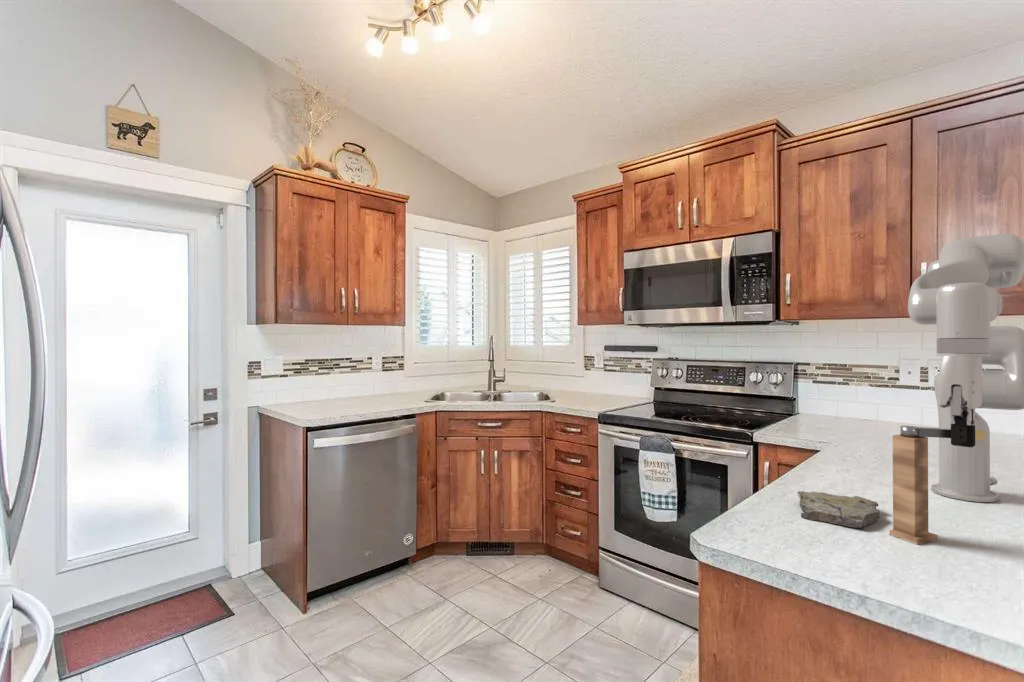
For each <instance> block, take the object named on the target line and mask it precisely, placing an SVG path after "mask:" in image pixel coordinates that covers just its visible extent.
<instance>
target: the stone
mask: <svg viewBox="0 0 1024 682" xmlns="http://www.w3.org/2000/svg"><path fill="white" fill-rule="evenodd" d="M797 497H798V498H799V507H800V509H801V511H802V513H801V514H800V517H801V518H802V519H805V518H806V519H805V520H809V519H810V521H814V520H815V521H816V522H826V523H830V524H835V525H837V524H838V526H845V527H848V528H849V527H850V528H864V526H867V525H870V524H874V522H877V521H878V520H879V518H880V510H879V509H878V508H877V507H879V503H878V502H877V501H874V500H872V499H871V500H870V499H867V498H865V497H861V496H858V495H854V496H848V495H839V494H833V493H832V494H830V493H827V492H817V491H804V490H803V491H797ZM803 512H804V513H803ZM815 521H814V522H815Z"/></svg>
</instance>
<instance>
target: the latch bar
mask: <svg viewBox="0 0 1024 682" xmlns="http://www.w3.org/2000/svg"><path fill="white" fill-rule="evenodd" d="M899 427H900V434H899V435H901V436H905V437H928V438H938V439H939V438H951V428H939V427H926V426H924V427H922V426H914V425H900V426H899ZM975 439H980V440H985V431H982V430H975Z"/></svg>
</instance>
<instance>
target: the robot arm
mask: <svg viewBox="0 0 1024 682" xmlns="http://www.w3.org/2000/svg"><path fill="white" fill-rule="evenodd" d="M1023 275H1024V241H1023V239H1022V238H1021V237H1019V236H1018V235H1017V234H1014V233H1000V234H992V235H982V236H972V237H962V238H958V239H955V240H951V241H950V242H948V243H946V244H945V245H944V246H943V247H942V249H941V250H940V252H939V255H938V259H936V260H934V261H932V262H931V263H930V264H929V265H928V267H927V271H926V272H925V273H923V274H921V275H920V276H919V277H917V278H915V280H914V281H913V283H912V285H911V287H910V290H909V296H908V303H907V313H908V315H909V318H910V319H911V321H913V323H916V324H918V325H925V326H926V325H936V327H935V328H936V356H937V357H941V359H940V366H939V373H937V374H936V376H934V381H933V389H934V394H935V399H936V403H937V404H936V407H937V412H938V413H937V415H938V428H951V438H938V483H933V484H931V487H930V489H931V491H932V492H933V493H934V494H935V493H936V494H938V495H941V496H944V497H948V498H951V499H955V500H962V501H968V502H977V503H994V502H998V501H999V500H1000V495H999V494H998V493H997V492H995V491H992V490H991V487H992V486H996V485H997V484H998V480H997V478H995V477H994V476H991V449H990V448H991V436H990V435H991V432H990V429H991V428H990V426H989V424H988V422H987V420H985V419H984V418H983V417H982V416H981V415H980V414H979V413H978V412H976V409H988V410H989V409H990V410H1001V411H1003V410H1004V411H1005V410H1007V411H1022V410H1024V329H1023V328H1021V327H1017V326H1014V325H1013V326H1011V325H992V326H991V322H992V321H994V320H996V319H997V318H998V317H999V315H1001V314H1002V312H1003V297H1002V295H1001V293H999V292H998V291H997V290H996V289H1000V288H1001V289H1002V288H1011V287H1014V286H1017V285H1018V284H1019V283H1020V282H1021V281H1022V278H1023V277H1024V276H1023ZM983 365H991V366H993V365H995V366H1000V367H1002V369H1004V370H1002V369H1001V370H1000V369H983ZM975 430H982V431H985V440H980V439H975Z"/></svg>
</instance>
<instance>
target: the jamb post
mask: <svg viewBox="0 0 1024 682" xmlns="http://www.w3.org/2000/svg"><path fill="white" fill-rule="evenodd" d="M891 535H893V536H892V537H894V536H896V537H895V538H897V537H899V538H898V539H900V538H902V539H901V540H903V539H905V540H908V541H911V542H914V543H916V544H915V545H920V544H919V543H922V544H925V543H924V542H927V543H930V542H929V541H931V542H934V541H933V540H936V541H938V537H939V536H938V534H935V533H933V532H929V437H905V436H901V434H894V435H892V529H889V536H891ZM905 540H904V541H905ZM908 541H907V542H908ZM911 542H910V543H911ZM914 543H913V544H914Z"/></svg>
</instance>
